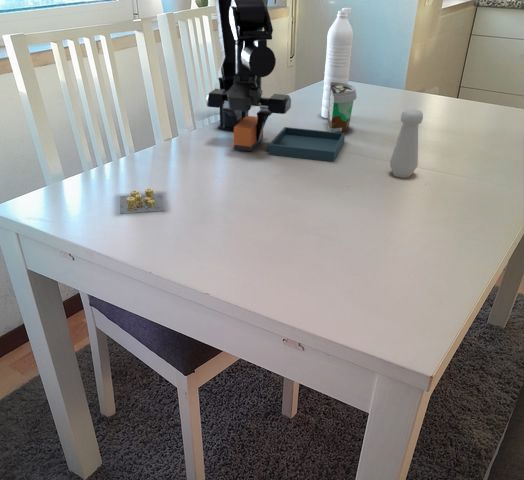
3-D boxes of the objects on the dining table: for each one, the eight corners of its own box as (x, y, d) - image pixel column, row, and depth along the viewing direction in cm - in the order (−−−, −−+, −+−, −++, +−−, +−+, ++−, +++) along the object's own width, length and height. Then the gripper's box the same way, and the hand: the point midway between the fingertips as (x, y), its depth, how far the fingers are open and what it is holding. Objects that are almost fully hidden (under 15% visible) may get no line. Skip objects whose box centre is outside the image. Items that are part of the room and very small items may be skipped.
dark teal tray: (268, 154, 125) (268, 144, 123) (284, 136, 135) (284, 126, 134) (333, 161, 121) (334, 151, 120) (344, 142, 132) (345, 133, 131)
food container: (355, 137, 135) (360, 94, 129) (330, 136, 135) (334, 93, 129) (350, 122, 145) (354, 82, 139) (327, 122, 145) (330, 81, 139)
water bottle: (341, 121, 146) (352, 12, 130) (318, 118, 148) (326, 11, 132) (349, 112, 152) (360, 8, 137) (326, 110, 154) (335, 7, 138)
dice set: (128, 210, 100) (126, 200, 99) (127, 199, 104) (126, 189, 103) (155, 208, 101) (154, 198, 100) (154, 197, 105) (153, 188, 103)
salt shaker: (418, 172, 117) (430, 108, 109) (412, 181, 113) (425, 115, 105) (391, 167, 119) (402, 105, 111) (385, 176, 115) (395, 111, 107)
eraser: (233, 149, 126) (233, 127, 123) (246, 136, 134) (246, 115, 131) (251, 151, 126) (251, 129, 122) (263, 138, 133) (263, 117, 130)
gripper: (195, 71, 115) (199, 145, 125) (280, 78, 111) (277, 154, 121) (213, 61, 124) (216, 131, 133) (293, 67, 120) (289, 139, 129)
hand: (248, 139), depth 129 cm, fingers closed on eraser, 4 cm apart
